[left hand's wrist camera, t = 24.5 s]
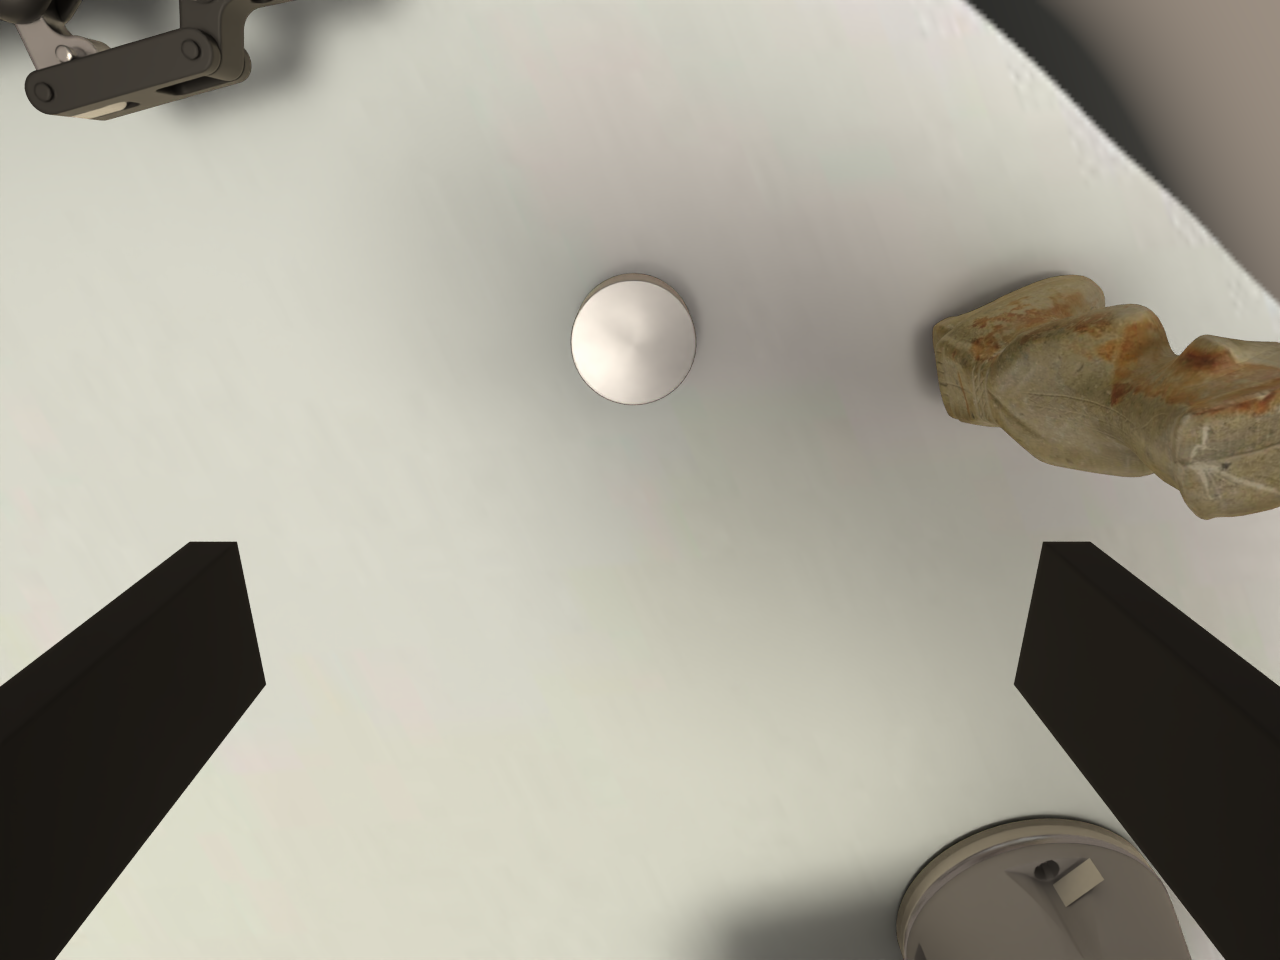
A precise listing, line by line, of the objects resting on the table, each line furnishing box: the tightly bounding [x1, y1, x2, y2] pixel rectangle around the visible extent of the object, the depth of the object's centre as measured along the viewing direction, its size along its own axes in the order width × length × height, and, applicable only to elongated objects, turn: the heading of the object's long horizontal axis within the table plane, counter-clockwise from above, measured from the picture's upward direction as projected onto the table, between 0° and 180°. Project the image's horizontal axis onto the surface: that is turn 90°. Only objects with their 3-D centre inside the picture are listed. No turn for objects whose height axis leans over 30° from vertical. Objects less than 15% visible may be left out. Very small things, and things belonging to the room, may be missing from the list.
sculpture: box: [933, 275, 1280, 520], centre depth 26 cm, size 6×7×15 cm
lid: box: [571, 273, 696, 405], centre depth 32 cm, size 5×5×2 cm
